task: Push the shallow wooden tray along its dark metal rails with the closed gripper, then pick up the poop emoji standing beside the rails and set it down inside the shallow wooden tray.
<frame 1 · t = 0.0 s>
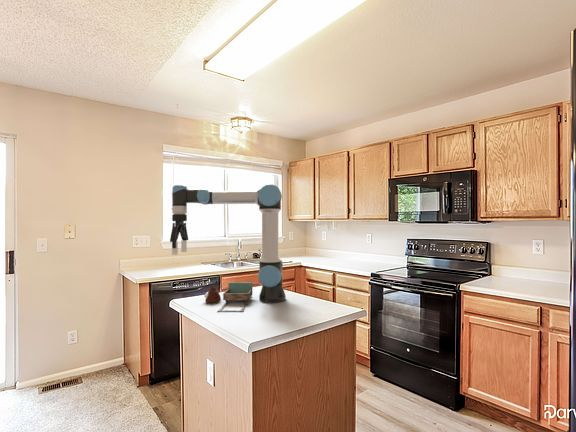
hand: (179, 253, 178), 28 cm above the countertop, tool pointing down, fingers open, 13 cm apart
poop emoji: (212, 302, 185), on the countertop
shallow wooden tray: (238, 292, 186), point 5 cm above the countertop, slide at 0.0 cm
track: (236, 303, 180), on the countertop
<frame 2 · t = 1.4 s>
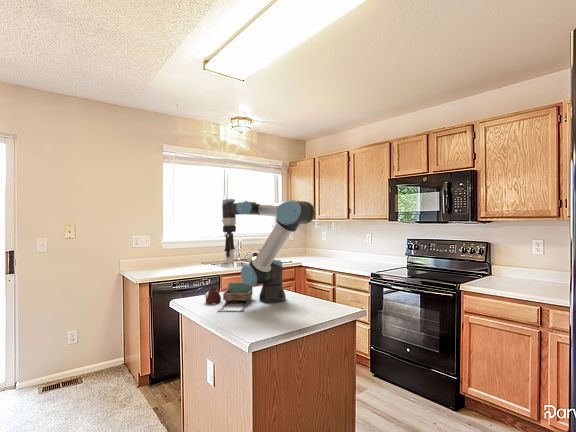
hand: (230, 261, 193), 22 cm above the countertop, tool pointing down, fingers open, 13 cm apart
nothing on the countertop moved.
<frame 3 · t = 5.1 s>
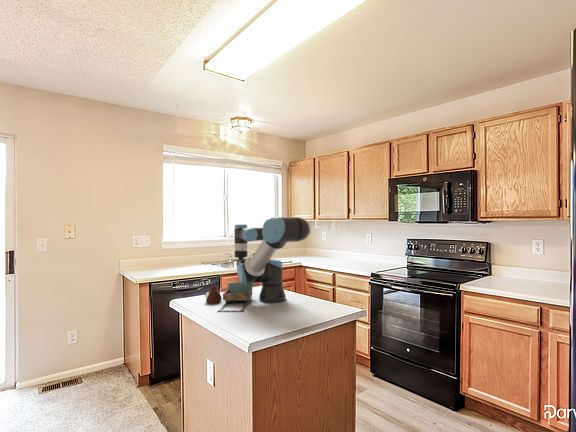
hand: (241, 290, 195), 4 cm above the countertop, tool pointing down, fingers closed
shallow wooden tray: (238, 292, 186), point 5 cm above the countertop, slide at 0.6 cm, touching gripper
everything else where it was.
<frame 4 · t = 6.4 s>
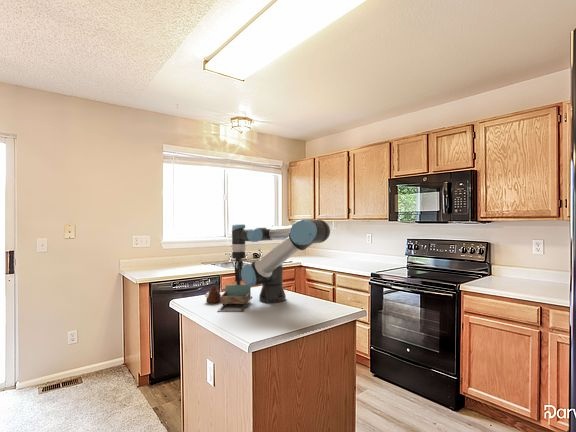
hand: (238, 292, 188), 4 cm above the countertop, tool pointing down, fingers closed
shallow wooden tray: (235, 295, 179), point 5 cm above the countertop, slide at 7.6 cm, touching gripper
everything else where it was.
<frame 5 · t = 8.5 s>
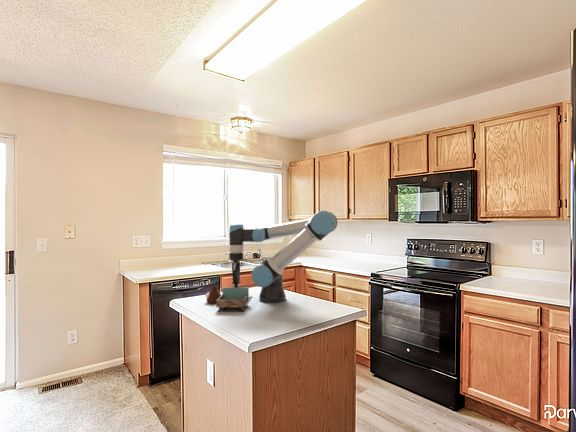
hand: (236, 295, 181), 4 cm above the countertop, tool pointing down, fingers closed
shallow wooden tray: (233, 298, 171), point 5 cm above the countertop, slide at 14.9 cm, touching gripper
everything else where it was.
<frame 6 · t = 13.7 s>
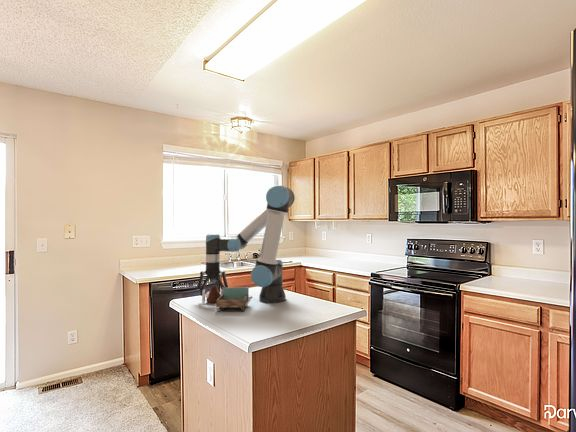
hand: (212, 301, 185), 0 cm above the countertop, tool pointing down, fingers open, 10 cm apart
poop emoji: (213, 302, 185), on the countertop, touching gripper
shallow wooden tray: (233, 298, 171), point 5 cm above the countertop, slide at 14.9 cm
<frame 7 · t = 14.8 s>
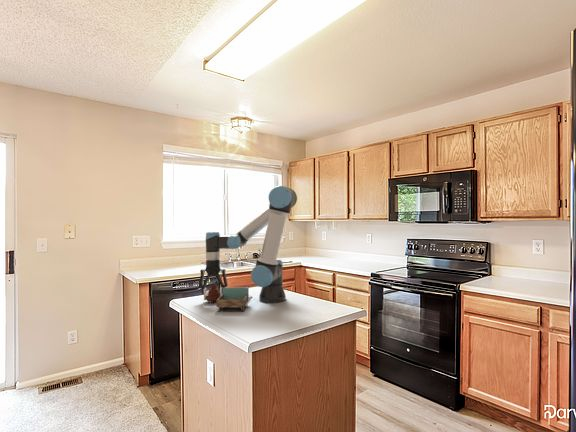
hand: (213, 299, 184), 1 cm above the countertop, tool pointing down, fingers closed on poop emoji, 8 cm apart
poop emoji: (213, 300, 185), point 1 cm above the countertop, touching gripper
everything else where it was.
when the fingers open (6 cm above the countertop, at t = 20.9 s): poop emoji drops 2 cm, resting on shallow wooden tray.
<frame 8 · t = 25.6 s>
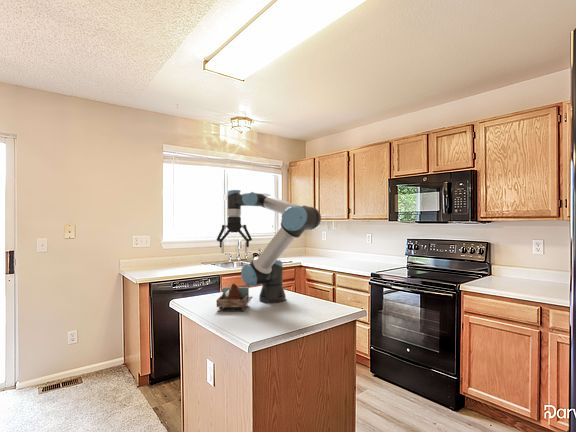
hand: (234, 253, 191), 27 cm above the countertop, tool pointing down, fingers open, 13 cm apart
poop emoji: (234, 301, 173), point 3 cm above the countertop, touching shallow wooden tray
shallow wooden tray: (233, 298, 172), point 5 cm above the countertop, slide at 14.5 cm, touching poop emoji
at the end: shallow wooden tray slide at 14.5 cm; poop emoji inside the target area on the shallow wooden tray (1.0 cm from its centre), point 3.1 cm above the shallow wooden tray's base; poop emoji tilted 0° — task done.
